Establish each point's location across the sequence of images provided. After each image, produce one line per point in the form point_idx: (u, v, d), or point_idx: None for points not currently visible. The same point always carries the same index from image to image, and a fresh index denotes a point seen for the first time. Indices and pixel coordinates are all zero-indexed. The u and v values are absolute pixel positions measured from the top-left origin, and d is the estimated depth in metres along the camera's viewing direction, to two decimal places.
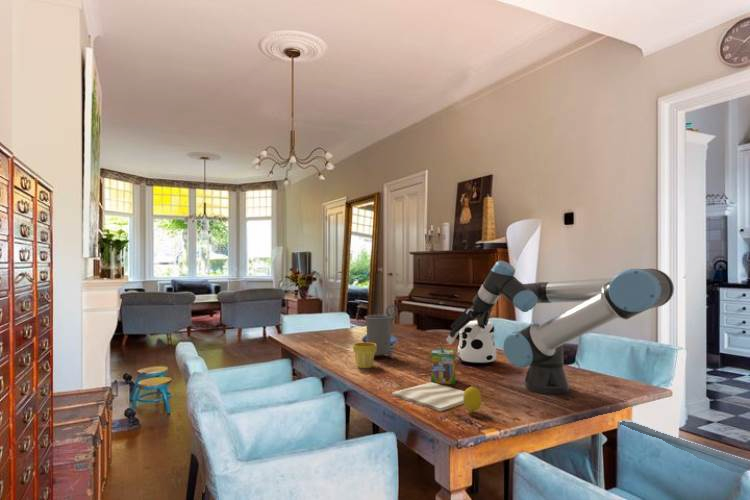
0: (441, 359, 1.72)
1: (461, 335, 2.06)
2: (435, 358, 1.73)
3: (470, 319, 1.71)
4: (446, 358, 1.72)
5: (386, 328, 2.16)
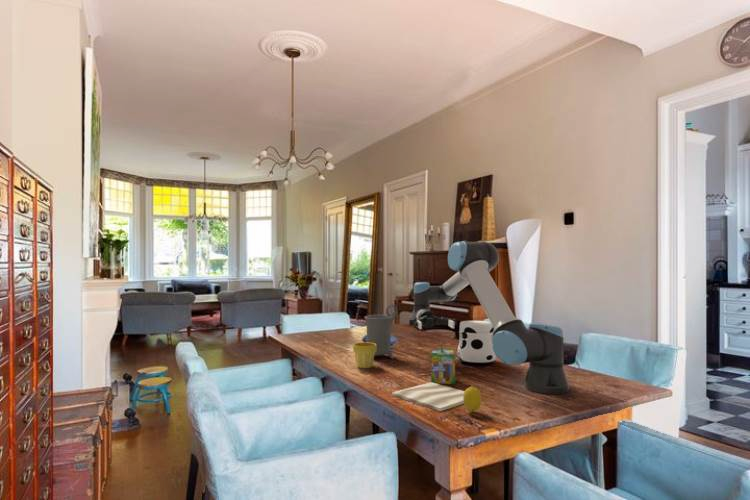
0: (441, 359, 1.72)
1: (461, 335, 2.06)
2: (435, 358, 1.73)
3: (421, 318, 1.98)
4: (446, 358, 1.72)
5: (386, 328, 2.16)
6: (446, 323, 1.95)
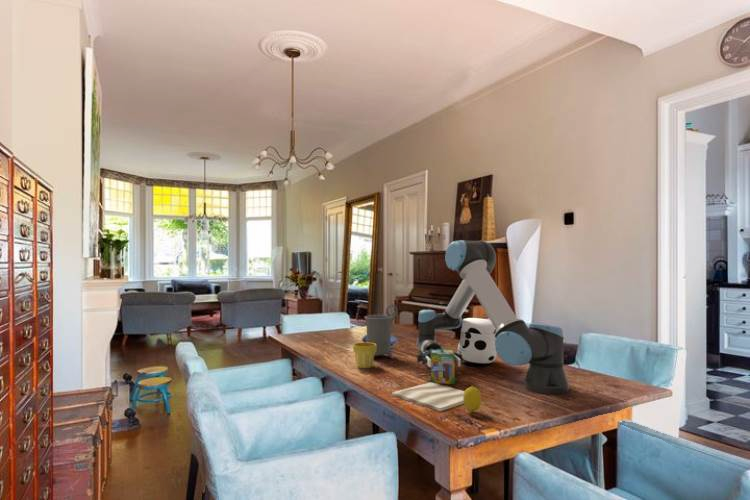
0: (441, 359, 1.72)
1: (464, 334, 2.03)
2: (435, 358, 1.72)
3: (427, 352, 1.85)
4: (446, 358, 1.72)
5: (386, 328, 2.16)
6: None
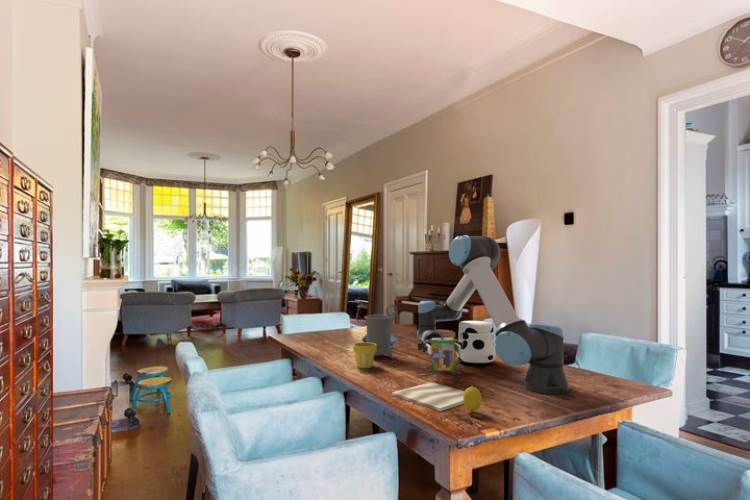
0: (441, 346, 1.72)
1: (461, 336, 2.04)
2: (435, 345, 1.72)
3: (428, 341, 1.85)
4: (446, 344, 1.72)
5: (386, 328, 2.16)
6: None
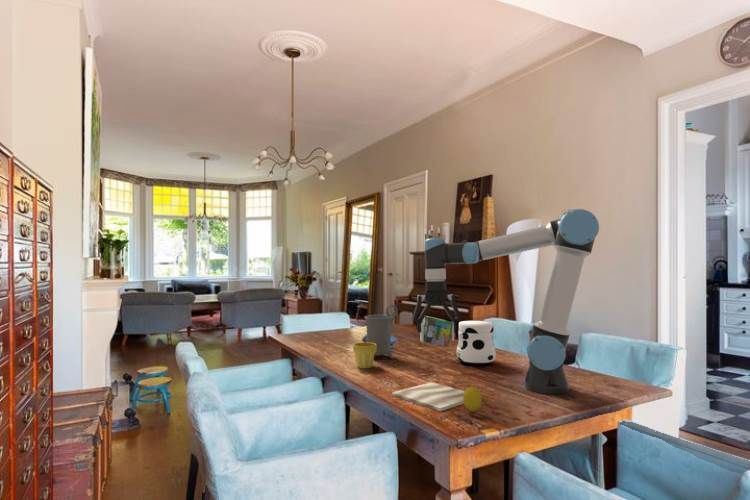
0: None
1: (461, 336, 2.04)
2: None
3: (427, 306, 1.66)
4: None
5: (386, 328, 2.16)
6: (449, 316, 1.69)
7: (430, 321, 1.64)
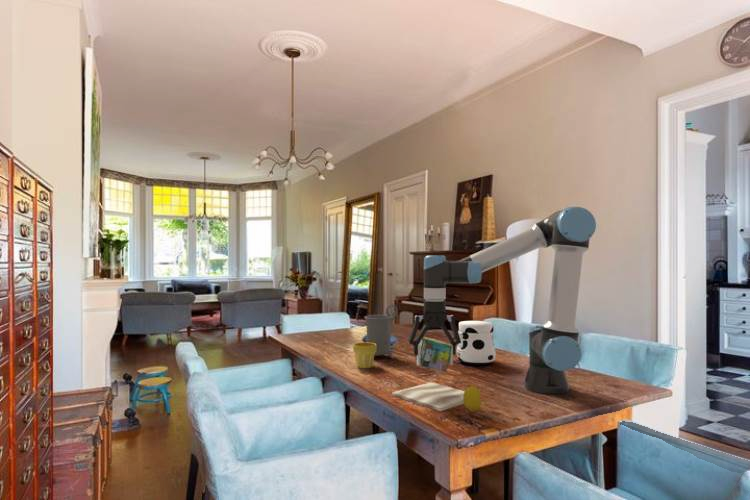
0: None
1: (461, 336, 2.04)
2: None
3: (424, 327, 1.56)
4: None
5: (386, 328, 2.16)
6: (448, 339, 1.58)
7: (428, 344, 1.54)
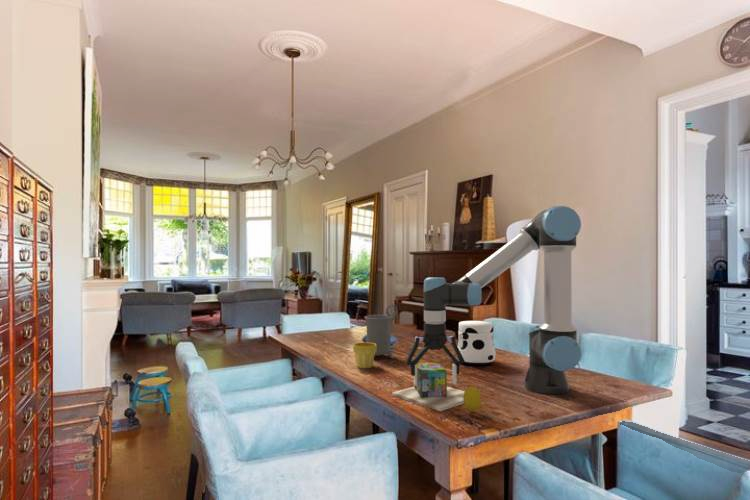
0: None
1: (461, 336, 2.04)
2: None
3: (423, 349, 1.55)
4: None
5: (386, 328, 2.16)
6: None
7: (422, 375, 1.53)
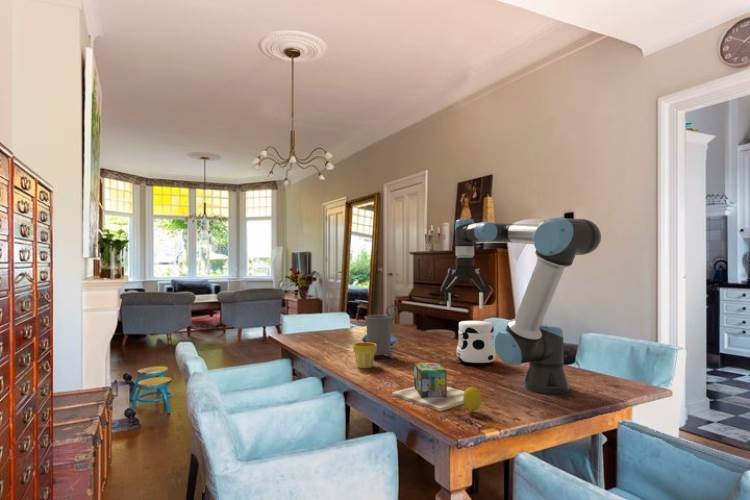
0: None
1: (461, 336, 2.04)
2: None
3: (456, 278, 1.86)
4: None
5: (386, 328, 2.16)
6: None
7: (422, 375, 1.53)
